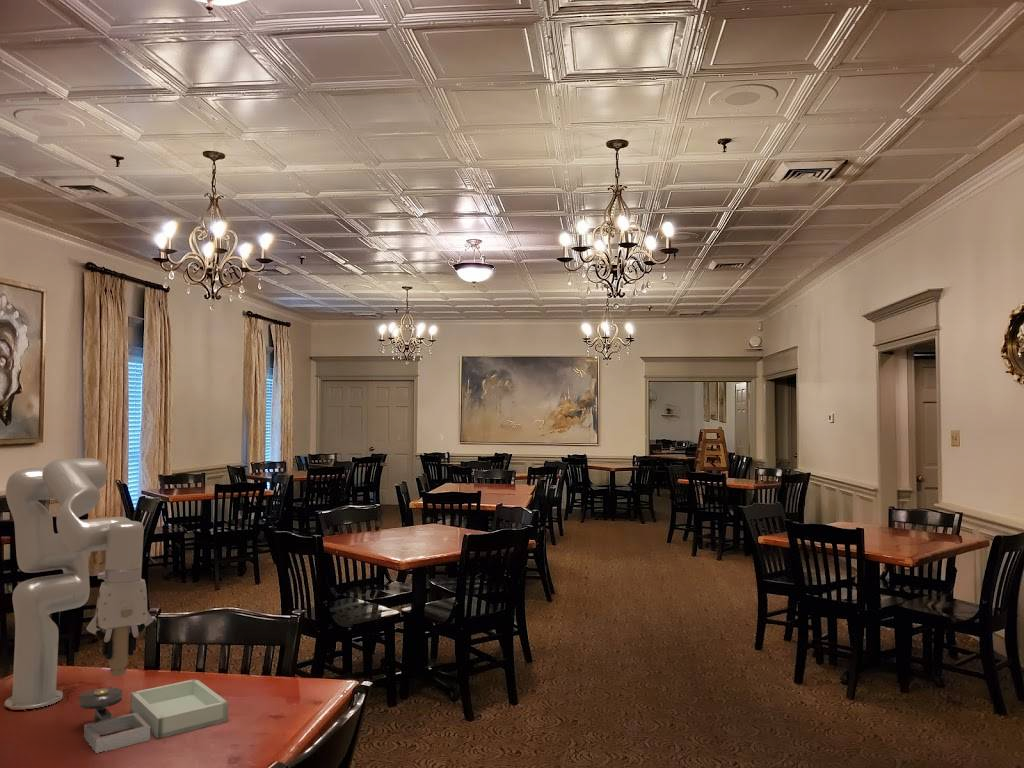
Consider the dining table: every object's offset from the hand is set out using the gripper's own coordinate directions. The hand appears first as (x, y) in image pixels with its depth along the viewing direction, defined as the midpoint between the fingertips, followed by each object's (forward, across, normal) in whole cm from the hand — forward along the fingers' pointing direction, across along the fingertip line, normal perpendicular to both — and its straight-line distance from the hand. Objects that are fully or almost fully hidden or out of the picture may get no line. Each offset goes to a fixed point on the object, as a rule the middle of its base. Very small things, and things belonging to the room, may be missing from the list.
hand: (118, 655), depth 171 cm
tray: (+19, +15, +4) cm, 24 cm away
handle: (+4, 0, 0) cm, 4 cm away
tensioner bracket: (+19, 0, +4) cm, 19 cm away
